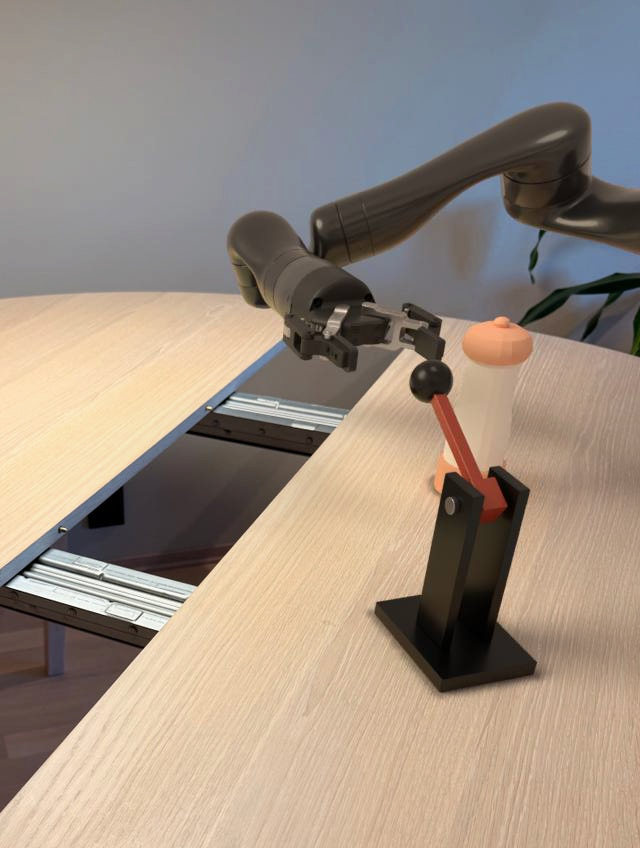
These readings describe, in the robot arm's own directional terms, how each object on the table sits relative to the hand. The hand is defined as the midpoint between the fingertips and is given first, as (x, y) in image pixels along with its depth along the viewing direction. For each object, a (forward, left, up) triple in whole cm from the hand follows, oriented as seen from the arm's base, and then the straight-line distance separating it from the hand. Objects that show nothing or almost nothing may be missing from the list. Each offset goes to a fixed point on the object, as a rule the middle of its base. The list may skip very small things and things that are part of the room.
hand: (397, 357), depth 88 cm
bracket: (-6, +16, -20) cm, 26 cm away
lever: (-3, +10, -4) cm, 11 cm away
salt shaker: (-13, -14, -20) cm, 28 cm away
